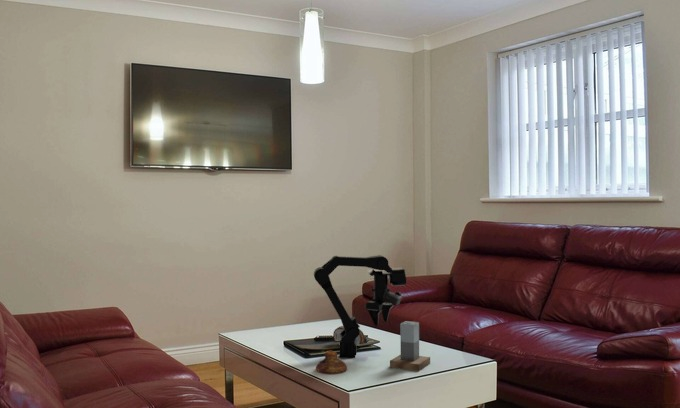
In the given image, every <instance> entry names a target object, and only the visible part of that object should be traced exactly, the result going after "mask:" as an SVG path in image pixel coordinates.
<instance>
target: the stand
mask: <svg viewBox="0 0 680 408" xmlns="http://www.w3.org/2000/svg"><path fill="white" fill-rule="evenodd" d="M429 365H431V356H423V355H419V359H417V360H415V361H407V360H401V354H399V355H397V356H395V357H394V358H392V359H391V360H389V368H393V369H399V368H400V369H401V370H407V369H408V370H409V371H416V372H420V371H422V370H423V369H424V368H426V367H427V366H429Z"/></svg>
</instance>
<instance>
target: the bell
mask: <svg viewBox="0 0 680 408" xmlns="http://www.w3.org/2000/svg"><path fill="white" fill-rule="evenodd" d="M315 371H316V372H317V373H320V374H325V375H338V374H343V373H346V372H347V371H348V366H347V364H346V363H345V362H344V361H343V360H341V359H340V358H338V353H337V352H336V351H333V350H327V351H325V353H324V359H323V360H320V361H319V362H318V363H317V364H316V366H315Z"/></svg>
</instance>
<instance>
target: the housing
mask: <svg viewBox="0 0 680 408" xmlns="http://www.w3.org/2000/svg"><path fill="white" fill-rule="evenodd" d="M399 327H400V328H399V329H400V332H399V333H400V355H401V360H407V361H415V360H417V359H419V356H420V322H418V321H409V320H405V321H403V322H401V323H400V324H399Z"/></svg>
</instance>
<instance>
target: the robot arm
mask: <svg viewBox="0 0 680 408" xmlns="http://www.w3.org/2000/svg"><path fill="white" fill-rule="evenodd" d="M340 266H341V267H359V268H360V267H362V268H363V267H364V268H369V269H372V270H371V271H370V272H369V273H368V274H369V276H373V288H372V289H371V290H372V292H373V298H372V299H371V300H369V301H367V302H366V303H365V304H364V309H365V310H366V311H367V313H368V314H369V316H370V318H371V320H372V323H374V326H375V327H378V326H379V323H380V322H379V320H380V319H379V318H380V313H381V314H382V318H383V322H388V319H389V315H390V313H391V309H392V308H393V307H395V306H397V305H400V303H401V301H402V300H403V296H402V292H400V291H396V292H391V289H390V287H389V284H390V285H391V286H392V287H397V286H399V287H400V286H401V287H402V286H404V287H405V286H406V285H407V277H406V276H407V275H406V269H404V268H400V269H392V267H391V266H390V265H389V261H388V258H387V257H385V256H383V255H380V254H379V255H371V256H366V257H365V256H364V257H362V256H361V257H359V256H338V255H333V256H332V257H331V258H330V259H329V260H327V262H326V263H324V264H323V265H322V266H321V267H320V266H319V267H317V268H315V269H314V271H313V278H314V280H315V281H316V282H317V284H319V286H320V287H321V288H322V289H323V291H324V293H325V294H326V296H327V298H328V299H329V300H330V302H331V304H332V306H333V308H334V309H335V312H336V313H337V315H338V317H339V319H340V320H341V324H342V326H343V327H344V330H343V331H342V332H341V333H340V334H339V335H340V338H341V340H340V345H339V354H338V355H339V359H340V358H343V359H345V358H346V359H347V358H352V359H353V358H356V356H357V348H358V347H357V344H355V339H356V338H357V337H358V336H359V333H360V330H361V329H360V328H361V326H360V324H359V322H357V320H356V318H355V315H353V316H352V317H351V316H350V315H349V314H348V311H347V310H346V308H345V307H344V305H343V303H342V301H341V300H340V298H339V296H338V294H337V292H336V290H335V288H334V287H333V284H332V281H331V277H330V275H331V274H332V273H333V272H334V270H336V269H337V267H340ZM383 271H384V272H385V273H384V272H383ZM388 283H389V284H388ZM359 329H360V330H359Z"/></svg>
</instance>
